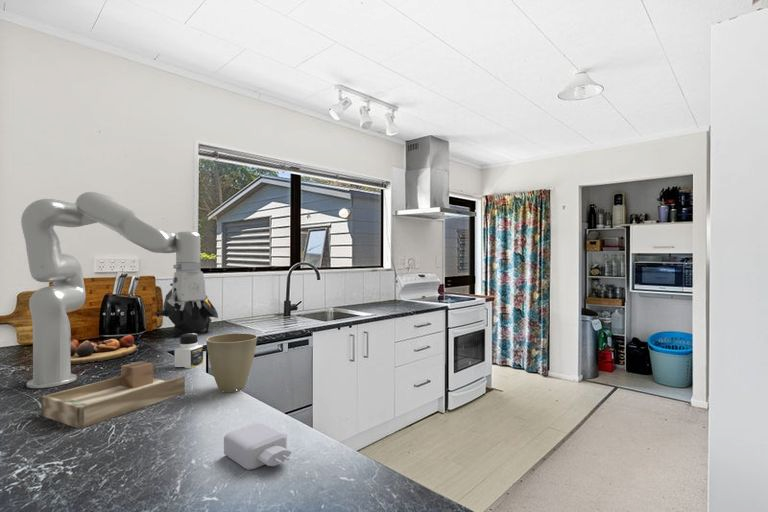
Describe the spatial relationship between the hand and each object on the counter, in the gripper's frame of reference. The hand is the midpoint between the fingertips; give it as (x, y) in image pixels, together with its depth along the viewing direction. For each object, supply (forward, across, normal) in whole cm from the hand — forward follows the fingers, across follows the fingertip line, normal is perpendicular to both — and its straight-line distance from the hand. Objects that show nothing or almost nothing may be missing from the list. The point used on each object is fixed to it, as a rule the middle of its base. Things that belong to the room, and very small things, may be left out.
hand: (188, 320), depth 137 cm
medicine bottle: (+20, +10, +13) cm, 26 cm away
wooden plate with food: (+20, +3, +65) cm, 68 cm away
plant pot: (+20, -2, -23) cm, 30 cm away
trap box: (+19, -26, -4) cm, 32 cm away
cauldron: (+20, +53, +71) cm, 91 cm away
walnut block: (+17, -18, 0) cm, 24 cm away
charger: (+20, -31, -64) cm, 73 cm away
